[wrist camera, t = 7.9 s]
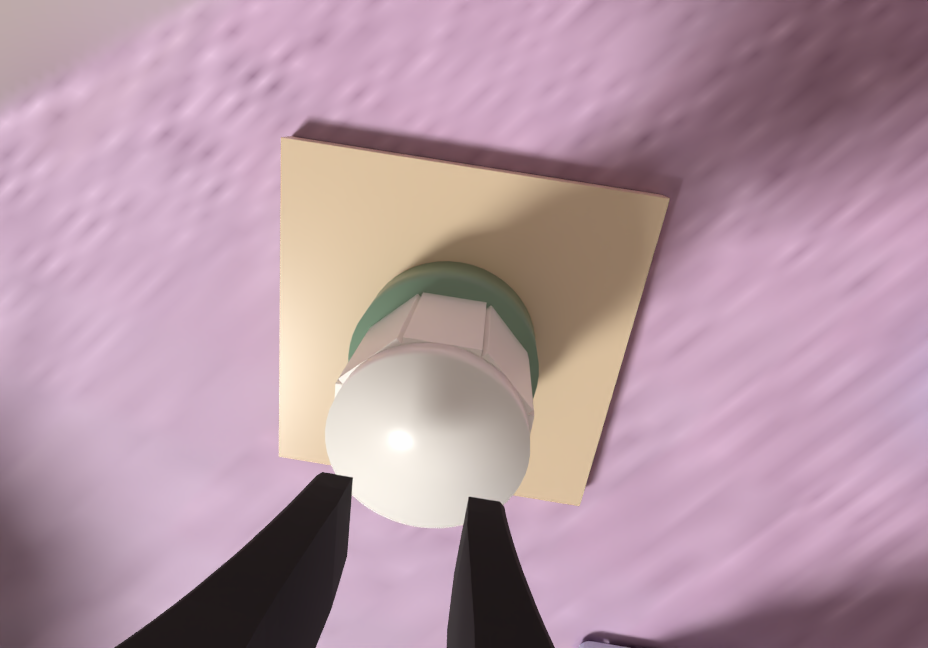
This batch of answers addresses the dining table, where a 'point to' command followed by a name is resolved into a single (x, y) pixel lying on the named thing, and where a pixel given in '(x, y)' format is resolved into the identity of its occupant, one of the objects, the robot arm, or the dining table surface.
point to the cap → (433, 412)
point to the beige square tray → (460, 283)
